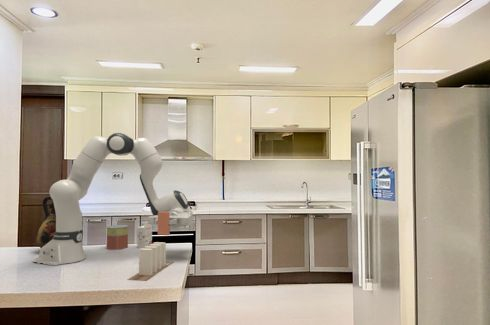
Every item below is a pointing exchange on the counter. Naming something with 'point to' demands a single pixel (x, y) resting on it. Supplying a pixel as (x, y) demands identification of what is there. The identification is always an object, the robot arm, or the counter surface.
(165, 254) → the ivory tile
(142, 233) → the ink cartridge box
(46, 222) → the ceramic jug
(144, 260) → the ivory tile
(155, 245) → the ivory tile
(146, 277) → the walnut board
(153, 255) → the ivory tile
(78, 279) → the counter surface
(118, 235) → the canned food
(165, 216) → the rust tile
